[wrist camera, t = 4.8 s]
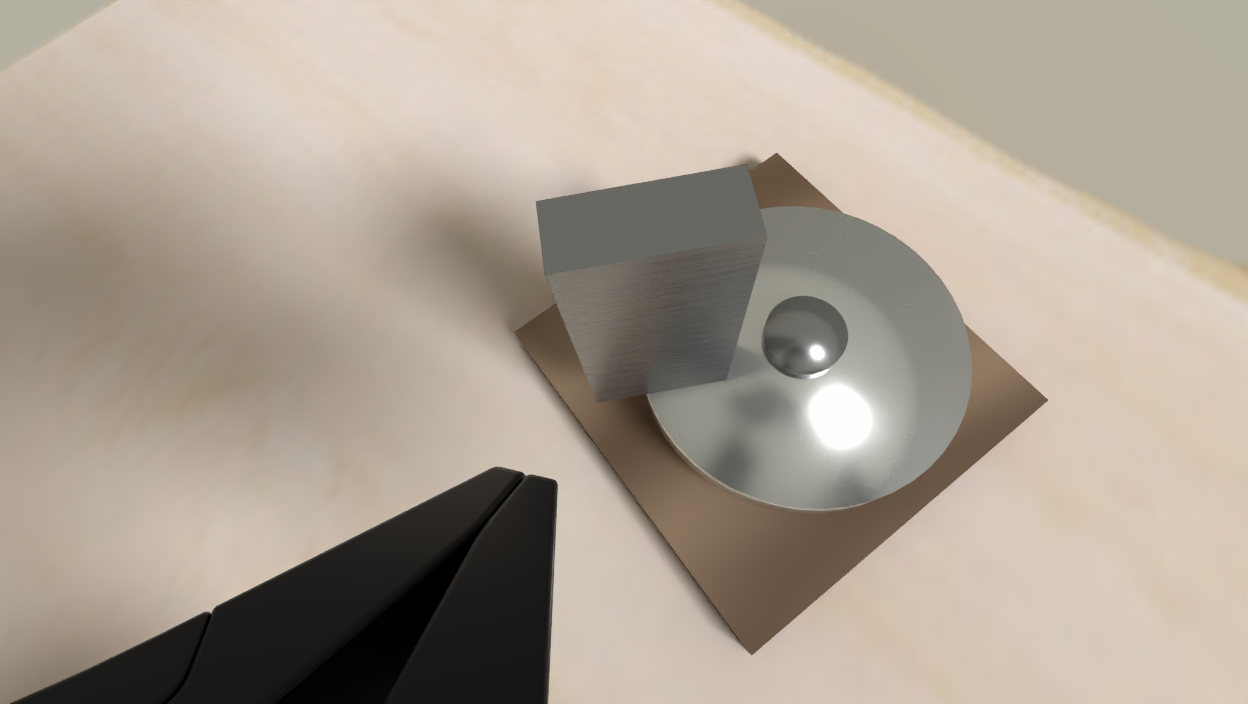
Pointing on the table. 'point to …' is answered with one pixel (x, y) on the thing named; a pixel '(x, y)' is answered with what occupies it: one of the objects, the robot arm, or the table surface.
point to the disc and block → (761, 336)
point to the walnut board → (747, 533)
